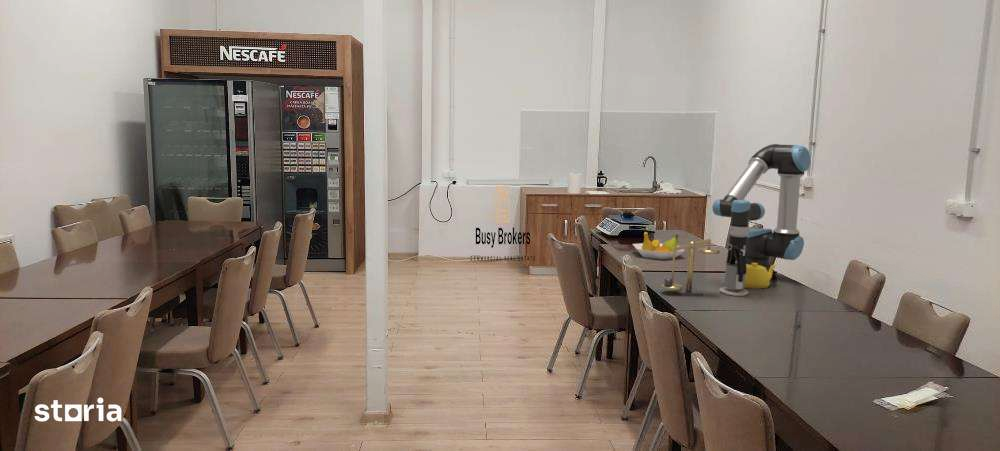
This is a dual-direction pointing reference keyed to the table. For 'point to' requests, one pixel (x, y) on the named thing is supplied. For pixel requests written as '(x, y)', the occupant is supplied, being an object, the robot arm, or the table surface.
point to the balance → (688, 269)
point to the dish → (733, 291)
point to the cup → (732, 276)
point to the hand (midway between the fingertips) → (734, 286)
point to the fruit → (658, 248)
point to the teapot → (757, 276)
